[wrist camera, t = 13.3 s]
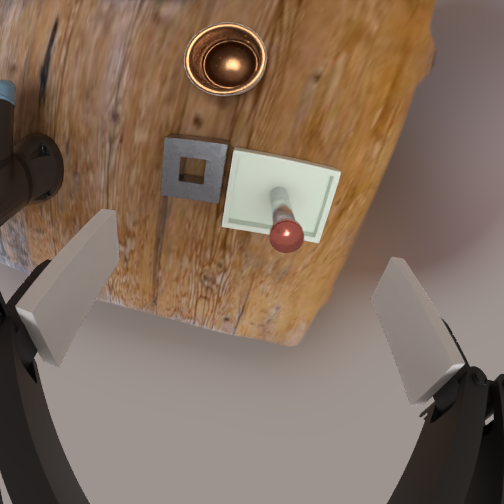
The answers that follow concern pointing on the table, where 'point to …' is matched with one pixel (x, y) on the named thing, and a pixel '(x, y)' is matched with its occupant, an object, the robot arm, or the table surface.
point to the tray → (278, 175)
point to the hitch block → (192, 185)
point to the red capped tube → (284, 223)
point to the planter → (225, 59)
